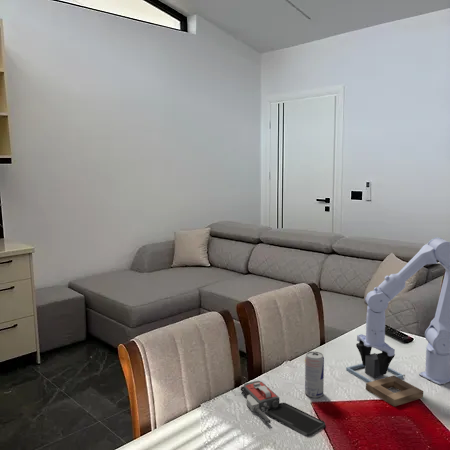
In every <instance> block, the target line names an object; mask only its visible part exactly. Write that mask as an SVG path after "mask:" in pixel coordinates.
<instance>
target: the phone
mask: <svg viewBox="0 0 450 450" xmlns="http://www.w3.org/2000/svg"><path fill="white" fill-rule="evenodd" d="M265 415H266V416H267V417H268V418H269V417H270V418H271V419H273V420H275V421H277V422H279V423H281V424H283V425H284V426H286V427H288V428H290V429H292V430H294V431H296V432H298V433H299V434H300V435H303V436H305V437H312V436H313V435H315V434H316V433H317V432H319V431H321V430H323V429H324V428H326V422H325V421H324V420H321V419H319V418H317V417H315V416H313V415H311V414H309V413H307V412H305V411H303V410H301V409H299V408H297V407H295V406H293V405H292V404H291V405H290V404H289V403H286V402H279V404H278V407H275V408H274V407H272V408H270V409H267V410H265Z"/></svg>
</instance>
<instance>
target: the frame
mask: <svg viewBox="0 0 450 450" xmlns="http://www.w3.org/2000/svg"><path fill="white" fill-rule="evenodd" d="M361 368H365V366H364V365H363V363H360V364H354V365H351V366H347V367H345V371H347V372H348V373H350V374H352V375H353V376H355V377H356V378H359V379H360V380H362V381H363V382H365V383H368V382H372V381H373V380H371V379H369V378H368V377H366V376H364V375H362V374H360V373H359V372H357V371H355V370H358V369H361ZM387 372H389V373H392V374H393V375H394V376H396V377H398V378H400V379H401V380H403V379H404V374H402V373H401V372H398V371H397V370H394V369H392V368H391V367H390V366H389V367H388V370H387Z"/></svg>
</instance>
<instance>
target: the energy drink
mask: <svg viewBox="0 0 450 450" xmlns="http://www.w3.org/2000/svg"><path fill="white" fill-rule="evenodd" d="M304 360H305V361H304V363H305V364H304V366H305V367H304V369H305V370H304V371H305V372H304V380H305V381H304V394H305V395H306V396H308V397H310V398H313V399H318V398H322V396H323V395H324V384H325V383H324V379H325V375H324V374H325V372H324V371H325V358H324V354H323V353H322V352H318V351H308V352H306V355H305V358H304Z"/></svg>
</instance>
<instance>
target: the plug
mask: <svg viewBox="0 0 450 450" xmlns="http://www.w3.org/2000/svg"><path fill="white" fill-rule="evenodd" d="M377 354H378V353H375V352H373V353H370V354H369V355H366V357H365V367H364V374H366V375H367V376H369V377H371V378H373V379H377V378H379V377H382V376H384V375H380V372H379V360H378V357H377Z"/></svg>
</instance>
